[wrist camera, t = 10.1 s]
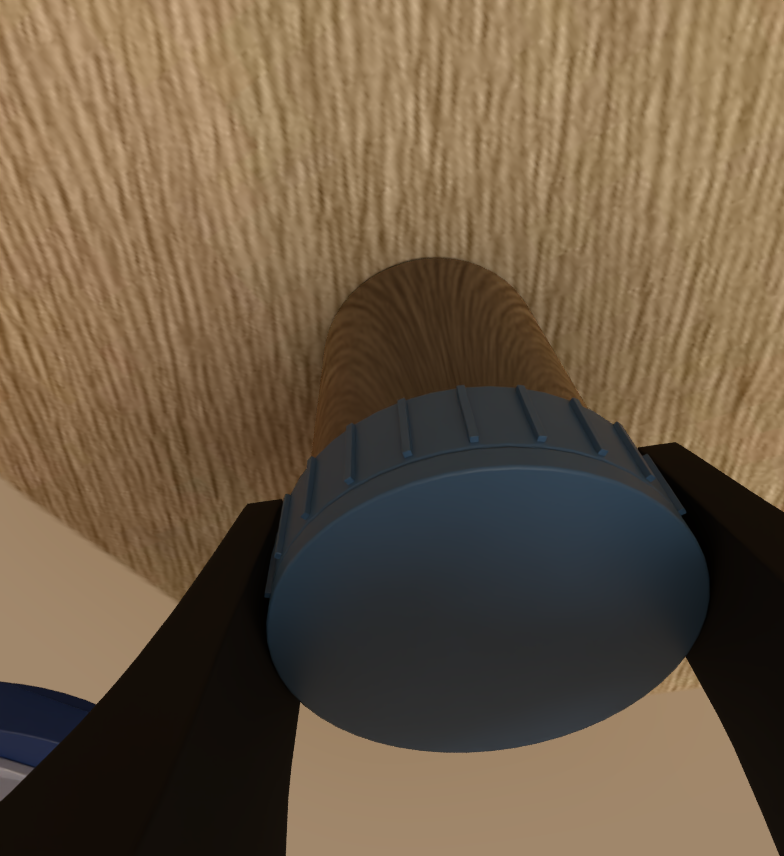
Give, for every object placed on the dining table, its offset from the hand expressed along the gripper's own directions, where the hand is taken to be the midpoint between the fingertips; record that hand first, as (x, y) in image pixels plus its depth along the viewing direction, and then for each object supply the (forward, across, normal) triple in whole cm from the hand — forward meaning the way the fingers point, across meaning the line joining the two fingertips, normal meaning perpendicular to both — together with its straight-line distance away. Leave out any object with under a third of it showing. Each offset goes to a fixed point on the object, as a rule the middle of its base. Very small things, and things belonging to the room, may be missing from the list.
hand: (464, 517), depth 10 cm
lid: (-2, 0, 0) cm, 2 cm away
